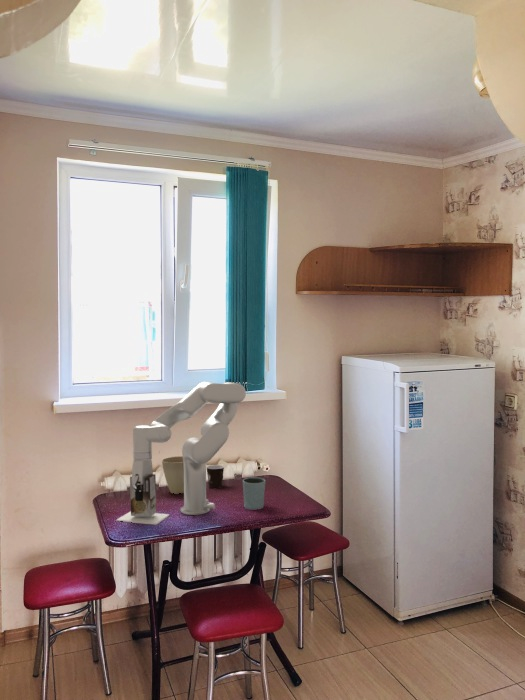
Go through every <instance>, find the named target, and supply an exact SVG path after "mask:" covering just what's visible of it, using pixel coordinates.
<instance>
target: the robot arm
mask: <svg viewBox="0 0 525 700" xmlns="http://www.w3.org/2000/svg"><path fill="white" fill-rule="evenodd" d="M246 392H247V391H246V388H245V387H244V386H243V385H242V384H240V383H237V382H232V381H231V382H230V381H227V382H223V383H216V382H211V381H202V382H200V383H198V384H197V385H196V386H195V387H194V388H193V389H192V390H191V391H189V393H187V394H186V395H185V396H184V397H182V399H180V401H178V402H177V403H175V404H174V405H172V406H171V407H170V408H168V409H166V410H165V411H163V412H162V413H161V414H160V415H158V417H156V418H155V419H154V420H153V421H152V422H151V423H150V425H147V424H139V425H136V426H134V427H133V428H132V442H133V443H132V444H133V446H132V448H133V449H132V452H133V454H132V456H133V461H132V467H131V468H132V469H131V477H132V485H133V487H134V489H135V490H134V491H135V500H136V501H143V491H142V487H143V484H144V479H145V478H146V477H147V476H149V475H151V474H154V473H153V471H154V470H153V461H152V459H153V448H152V447H153V443H157V444H158V443H159V444H163V443H168V441H169V440H170V439H171V437H172V435H173V434H172V429H171V428H172V427H173V426H175V425H176V424H178V423H179V422H182V421H185V420H188V419H189V420H190V419H191V418H192V417H194V416H195V415H196V414H197V413H198V412H200V410H202V408H204V407H205V406H206V405H207V404H208V403H209V404H218V406H217V408H215V410H214V412H213V413H212V414H211V415H210V416H209V417H208V418H207V420H205V421H204V423H203V424H202V426H201V427H200V435H201V437H200V438H198V437H193V436H192V437H189V438H187V439H186V440H185V441H184V442H183V444H182V448H181V449H182V451H181V453H182V455H181V456H183V463H184V493H183V506H182V507H180V513H182V514H184V515H188V516H199V515H203V514H207V513H209V512H210V511H211V510H214V509H215V508H216V504H215V503H214V502H210V501H209V499H207V466H206V464H207V463H209V461H211V460H212V458H214V457H215V455H216V454H217V453H218V452H219V451H220V449H221V448H222V447H223V446H224V445H225V444H226V442H227V441H228V439H229V435H230V429H229V425H230V424H231V422H232V421H233V420H234V418H235V417H236V414H237V412H238V404H239V403H242V402H243V401H244V400H245V398H246V396H247V393H246ZM138 482H141V483H138ZM138 485H140V488H139V486H138Z"/></svg>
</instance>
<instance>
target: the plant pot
mask: <svg viewBox="0 0 525 700" xmlns="http://www.w3.org/2000/svg"><path fill="white" fill-rule="evenodd" d="M161 463H162V469H163V474H164V478H165V481H166V484H167V487H168V490H169V492H170V494H173V493H174V494H175V495H179V493H181V494H184V463H183V455H179V456H169V457H165V458H163V459H161Z"/></svg>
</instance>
